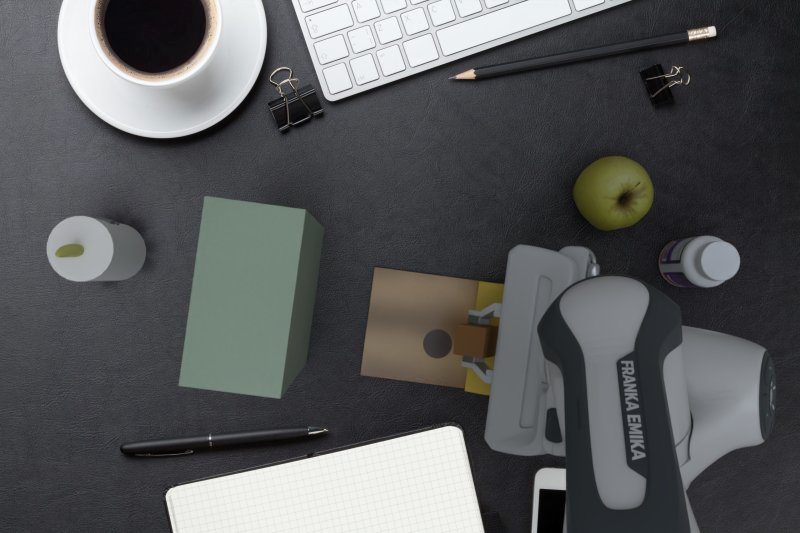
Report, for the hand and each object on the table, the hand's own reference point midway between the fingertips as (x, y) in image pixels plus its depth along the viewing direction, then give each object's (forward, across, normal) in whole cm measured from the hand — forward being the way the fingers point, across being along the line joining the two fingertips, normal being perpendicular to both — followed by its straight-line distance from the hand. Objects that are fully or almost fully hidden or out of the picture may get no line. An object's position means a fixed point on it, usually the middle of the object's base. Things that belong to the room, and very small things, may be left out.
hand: (468, 338), depth 79 cm
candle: (+31, -4, -23) cm, 39 cm away
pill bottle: (-13, -11, +20) cm, 27 cm away
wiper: (+1, 0, +5) cm, 5 cm away
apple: (-6, -17, +13) cm, 22 cm away
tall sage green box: (+18, -2, -11) cm, 21 cm away
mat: (+4, 0, +3) cm, 5 cm away
